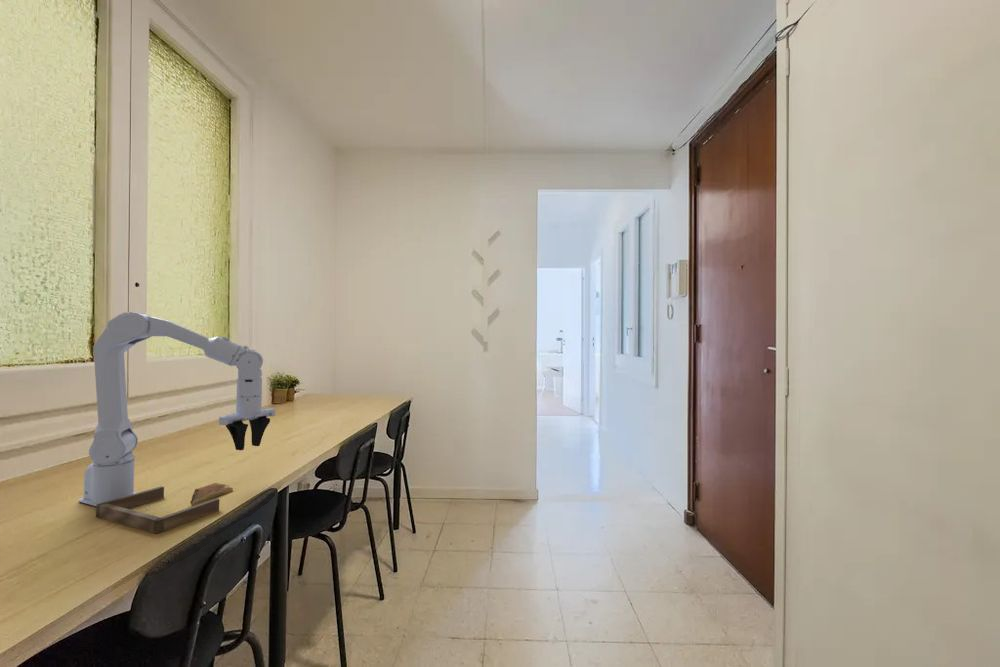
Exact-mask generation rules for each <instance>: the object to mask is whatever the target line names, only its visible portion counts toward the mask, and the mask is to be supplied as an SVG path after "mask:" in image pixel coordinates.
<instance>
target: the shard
mask: <svg viewBox="0 0 1000 667" xmlns="http://www.w3.org/2000/svg"><path fill="white" fill-rule="evenodd" d="M233 490H234V488H233V487H232V486H230V485H228V484H223V483H218V482H212V483H210V484H208V485H204V486H202V487H201V486H200V487H199V488H198V487H197V488H196V489H194V491H193V493H192V496H191V500H190V502H189V504H190V506H191V507H192V506H195V505H198V504H201V503H203V502H206V501H209V500H212V499H214V498H216V497H218V496H221V495H224V494H228V493H230V492H233Z"/></svg>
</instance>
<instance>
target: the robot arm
mask: <svg viewBox="0 0 1000 667" xmlns="http://www.w3.org/2000/svg"><path fill="white" fill-rule="evenodd" d="M152 337H168V338H171V339H174V340H176V341H179V342H182V343H185V344H187V345H189V346H193V347H195V348H198V349H201V350H202V351H203V352H204V356H205V357H207V358H209V359H211V360H214V361H217V362H219V363H221V364H224V365H227V366H230V367H234V366H236V368H237V379H236V400H235V402H236V403H235V404H236V405H235V408H236V409H235V413H231V414H227V415H222V416H219V417H218V425H220V426H221V425H222V426H225V427H226V428H227V430H228V432H229V434H230V436H231V438H232V440H233V443H234V444H233V445H234V447H235V450H236V451H243V450H245V440H246V439H245V438H246V433H247V429H248V427H249V426H250V431H251V445H252V447H260V445H261V442H262V439H263V436H264V433H265V430H266V429H267V427H268V425H269V424H270V422H271V418H269V417H275V416H276V408H266V409H265V408H263V409H262V400H263V399H262V398H263V396H262V394H263V377H262V376H263V371H262V366H263V362H264V358H263V356H262V355H261V353H260V352H259V351H257V350H256V349H248V348H249V346H247V345H243V346H242V345H240V344H237V343H236V342H233V341H231V340H230V337H227V336H223V337H221V336H215V337H211V338H209V337H207V336H205V335H203V334H200V333H198V332H196V331H194V330H191V329H189V328H187V327H185V326H182V325H180V324H177V323H175V322H174V321H171V320H167V319H164V318H160V317H156V316H155V317H154V316H152V315H149V314H147V313H146V314H145V313H139V312H135V311H134V312H133V311H127V312H122V313H120V314H118V315H116V316H115V317H113V318H112V319H110V320H109V321H108V322H107V324H106V328H105V329H104V330H103V332H101V334H100V336H99V337H98V338H97V340H96V342H95V343H94V344H93V358H94V360H93V361H94V376H95V389H96V405H97V408H96V409H97V422H98V423H97V426H96V428H95V429H94V432H93V442H92V443H91V445H90V447H89V449H88V455H89V458H90V459H91V460H92V462H91V463H90V464H89V465H88V466H87V468H86V469H85V471H84V476H83V477H84V480H83V497H82V498H79V499H78V502H79V503H83V504H86V505H91V506H92V507H96V505H97V504H100V503H104V502H107V501H111V500H114V499H118V498H121V497H125V496H128V495H132V494H135V493H138V492H136V491H134V490H135V488H134V487H135V459H136V458H135V457H136V456H135V455H134V454H133V451H134V450H135V449H136V447H137V445H138V443H139V440H138V439H139V438H138V436H137V434H136V433H135V432H134V430H133V424H132V422H131V419H130V418H129V416H128V414H129V413H128V398H127V385H126V384H127V382H126V381H127V380H126V368H125V367H126V366H125V353H126V352H127V351H128V350H130V349H131V348H132V347H133V346H135V345H136V344H137V343H140V342H143V341H145V340H147V339H149V338H152ZM246 421H248V422H249V423H244V422H246Z"/></svg>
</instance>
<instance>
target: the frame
mask: <svg viewBox="0 0 1000 667" xmlns="http://www.w3.org/2000/svg"><path fill="white" fill-rule="evenodd" d="M163 498H165V486H162V485H161V486H157V487H153V488H149V489H146V490H143V491H140V492H137V493H135V494H132V495H128V496H125V497H121V498H118V499H114V500H111V501H107V502H104V503H100V504H97V505H96V506H95V508H96V509H95V517H97V518H100V519H103V520H107V521H110V522H115V523H117V524H122V525H125V526H128V527H132V528H135V529H139V530H141V531H145V532H149V533H153V534H156V535H158V534H160V533H163V532H166V531H168V530H171V529H173V528H176V527H179V526H181V525H182V526H183V525H184V524H186V523H189V522H192V521H195V520H199V519H200V518H204V517H206V516H207V515H211V514H214V513H216V512H219V511H220V498H216V497H214V498H211V499H208V500H206V501H203V502H201V503H199V504H196V505H194V506H192V505H191V506H189V507H187V508H184V509H183V508H182V509H181V510H178V511H174V512H171V513H170V514H167V515H163V516H156V515H151V514H148V513H144V512H140V511H137V510H134V509H131V508H134V507H137V506H140V505H144V504H147V503H151V502H154V501H156V500H157V501H158V500H161V499H163Z"/></svg>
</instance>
